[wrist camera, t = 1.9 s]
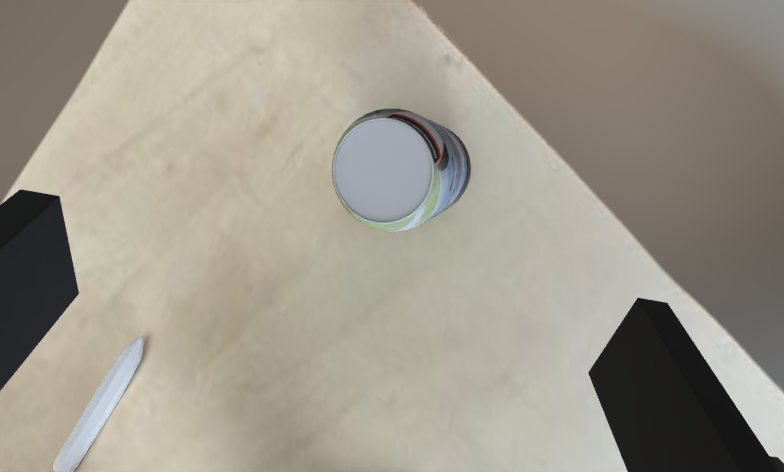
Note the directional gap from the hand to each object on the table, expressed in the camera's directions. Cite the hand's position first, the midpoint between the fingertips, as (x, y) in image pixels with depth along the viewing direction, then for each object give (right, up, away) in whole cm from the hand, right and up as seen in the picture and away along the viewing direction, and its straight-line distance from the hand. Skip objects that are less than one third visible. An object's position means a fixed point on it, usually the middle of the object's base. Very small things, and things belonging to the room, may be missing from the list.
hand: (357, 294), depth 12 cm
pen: (-21, -12, +27) cm, 36 cm away
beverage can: (+3, +6, +23) cm, 24 cm away
